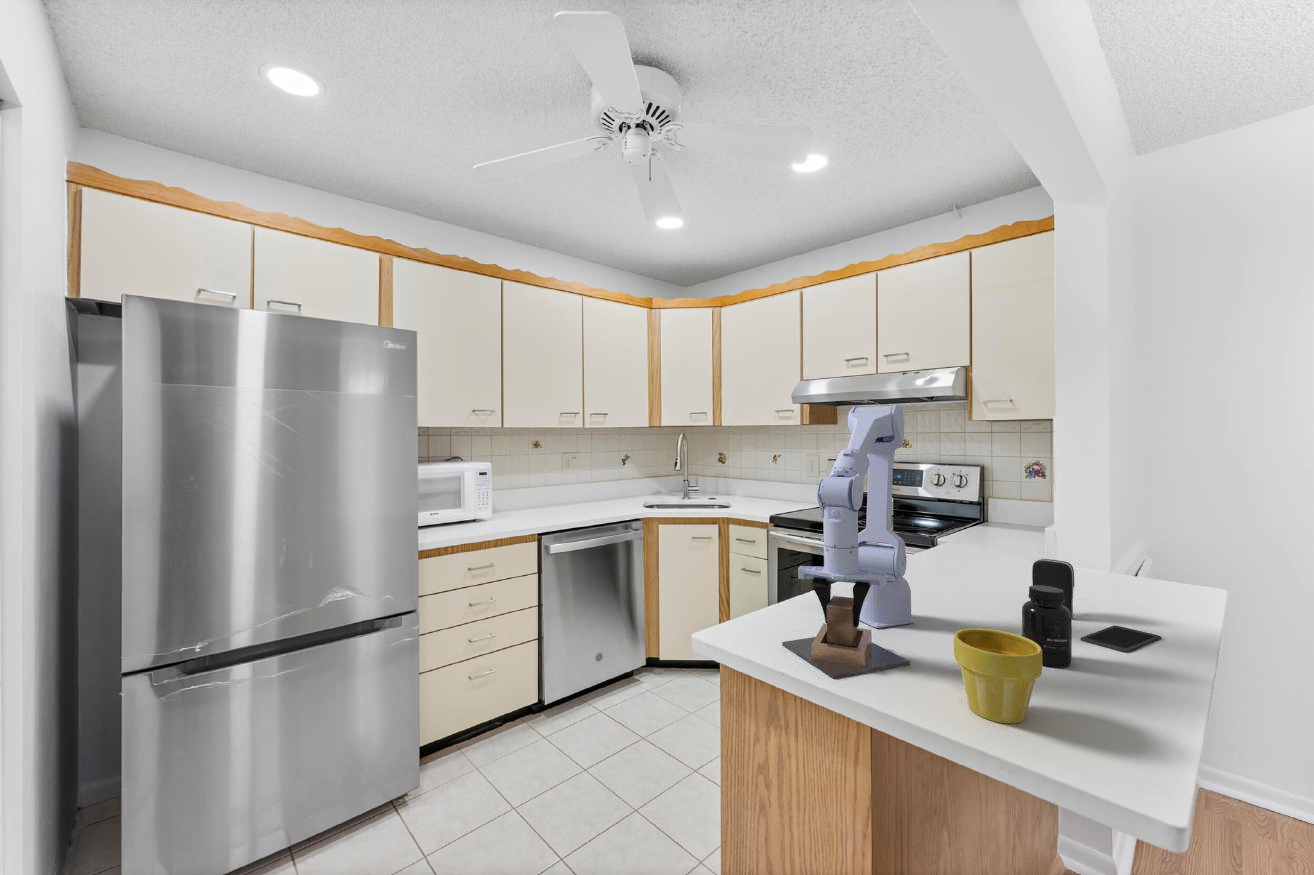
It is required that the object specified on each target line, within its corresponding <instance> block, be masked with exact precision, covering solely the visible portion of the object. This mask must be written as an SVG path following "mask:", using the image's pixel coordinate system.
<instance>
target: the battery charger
mask: <svg viewBox="0 0 1314 875" xmlns="http://www.w3.org/2000/svg"><path fill="white" fill-rule="evenodd" d="M1031 572H1032V574H1031V579H1032V581H1031V583H1032V585H1042V586H1050V587H1055V588H1059V589H1061V590H1063V591H1064V603H1063V605H1064V606H1065V607H1067V608H1068V609H1069V611H1070V612H1071V615H1072V619H1074V605H1073V604H1074V589H1075V569H1074V566H1073V565H1072V564H1071V563H1070V562H1069V561H1063V560H1058V559H1049V558H1039V559H1036V560H1034V562H1033V564H1032V570H1031Z"/></svg>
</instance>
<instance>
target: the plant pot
mask: <svg viewBox="0 0 1314 875" xmlns="http://www.w3.org/2000/svg"><path fill="white" fill-rule="evenodd" d="M953 657H954V660H955V661H956V663H957V664H959V666H960V673H961V677H962V681H963V685H964V690H965V694H966V699H967V705H968V707H969V710H971V711H972V712H973V713H974V714H975V715H977V716H979V717H981V718H983V719H985V720H989V721H992V722H995V723H1000V724H1008V725H1009V724H1010V725H1011V724H1021V723H1022V722H1024V721H1025V720H1026V717H1027V713H1028V709H1029V705H1030V701H1031V697H1032V694H1033V693H1032V692H1033V690H1034V685H1035V681H1036V680H1037V679H1039V678H1040V677H1041V676H1042V671H1043V665H1042V649H1041V647H1040V646H1039V645H1038V644H1037V643H1035V642H1034V641H1032V640H1030V639H1028V638H1025V637H1022V635H1019V634H1016V633H1013V632H1007V631H1003V630H998V629H991V628H982V627H981V628H980V627H979V628H977V627H976V628H974V627H973V628H971V627H970V628H963V629H959V630H957V631H956V632H955V633H954V636H953Z"/></svg>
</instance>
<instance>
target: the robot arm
mask: <svg viewBox="0 0 1314 875" xmlns="http://www.w3.org/2000/svg"><path fill="white" fill-rule="evenodd" d="M904 416H905V415H904V410H903V409H902V407H901V405H899V404H894V405H881V406H878V405H877V406H860V407H859V406H858V407H857V406H853V407H851V409H850V410H849V412H848V415H847V427H848V430H849V433H850V439H849V441H848V442H849V443H848V444H847V448H844V449H842V450H841V451H840V452H839V454H838V455H837V457H836V460H835V462H834V463H833V466H832V469H831V470H830V473H829V475H828V476H826V477H824V478H822V479H821V480H820V481H819V483H818V485H817V492H816V498H817V503H818V506H819V510H820V511H819V513H820V514H819V515H820V518H821V519H822V520H823V522H822V523H823V566H817V565H816V566H814V565H813V566H810V565H809V566H806V565H800V566H799V567H798V568H797V571H798V575H797V576H798V578H797V579H798V580H813V583H812V588H813V590H814V592H815V594H816V596H817V598H818V601H819V603H820V605H821V609H822V612H823V616H824V619H825V620H824V621H825V624H827V605H828V604H829V602H830V600H831V599H832V597H831V595H832V592H831V591H832V582H838V583H846V584H847V583H848V584H849V583H850V584H854V585H853V586H852V596H853V597H852V598H853V600H854V617H853V624H854V627H857V628H859V625H860V622H862V623H865V624H866V625H868V626H871V627H873V628H876V629H883V628H887V627H894V626H895V627H896V626H901V625H902V626H903V625H907V624H913V623H915V619H912V595H911V594H912V591H911V587H910V584H909V582H908V580H907V579H906V578H905V577H904V576H905V574H906V572H907V571H906V570H907V562H908V561H907V553H906V543H905V541H904V539H903V538H902V537H901V536H900V535H898V534H897V533H895V531H894V530H892V510H893V509H892V502H893V481H894V480H893V478H894V476H893V474H894V472H893V471H894V457H895V451H896V450H897V449H899V448H902V447H903V446H904V441H905V417H904ZM867 472H868V475H867ZM866 475H867V476H868V477H867V497H866V498H867V500H866V501H867V503H866V522H865V523H866V524H865V526H866V527H865V528H864V529H863V530H861V531H860V532H859V510H860V509H861V508H862V505H863V497H864V490H865V486H864V480H865V477H866ZM869 542H870V543H869ZM871 543H880V544H871ZM881 543H882V544H889V545H882V544H881Z"/></svg>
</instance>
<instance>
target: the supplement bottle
mask: <svg viewBox="0 0 1314 875" xmlns="http://www.w3.org/2000/svg"><path fill="white" fill-rule="evenodd" d="M1027 596H1028V598H1029V599H1030V600H1027V601H1025V602H1024V603H1023V604H1022V607H1021V636H1022V637H1025V638H1028V639H1030V640H1032V641H1034V642H1035V643H1037V644H1038V645H1039V646H1040V647H1041V649H1042V666H1045V667H1050V668H1066V667H1069V666H1070V665H1071V664H1072V659H1073V658H1072V656H1073V649H1072V648H1073V645H1072V644H1073V643H1072V642H1073V641H1072V640H1073V639H1072V638H1073V637H1072V635H1073V632H1072V631H1073V629H1072V625H1073V624H1072V622H1073V621H1072V620H1073V618H1072V615H1071V612H1070V611H1069V609H1068V608H1067V607H1065V606H1064V605H1063V603H1064V591H1063V590H1061V589H1059V588H1055V587H1050V586H1042V585H1033V584H1032V585H1029V586H1028V595H1027Z"/></svg>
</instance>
